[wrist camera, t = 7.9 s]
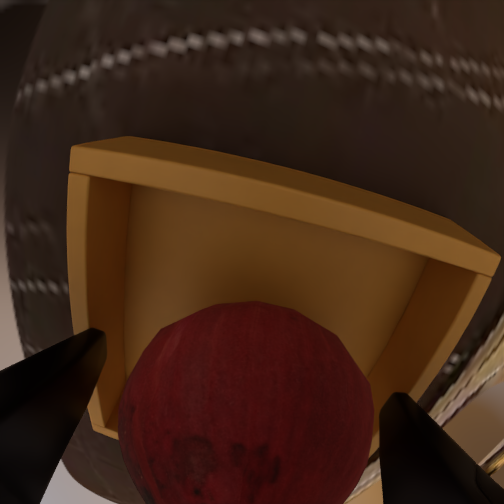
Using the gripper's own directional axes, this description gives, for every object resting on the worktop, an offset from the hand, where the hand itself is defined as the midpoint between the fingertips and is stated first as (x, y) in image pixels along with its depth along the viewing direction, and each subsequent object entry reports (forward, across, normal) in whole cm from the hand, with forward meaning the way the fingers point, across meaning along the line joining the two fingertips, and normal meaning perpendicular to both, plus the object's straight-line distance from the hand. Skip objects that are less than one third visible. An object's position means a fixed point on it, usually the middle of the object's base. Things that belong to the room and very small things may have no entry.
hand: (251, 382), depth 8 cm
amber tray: (+3, 0, 0) cm, 3 cm away
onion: (+2, 0, 0) cm, 3 cm away
